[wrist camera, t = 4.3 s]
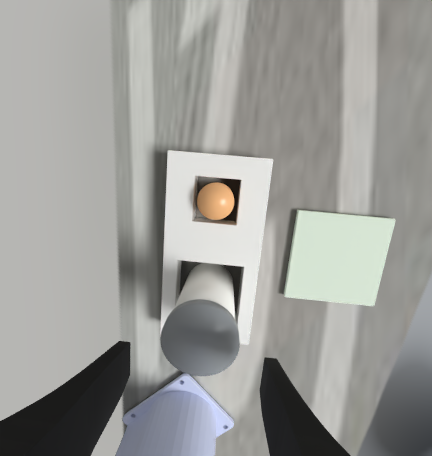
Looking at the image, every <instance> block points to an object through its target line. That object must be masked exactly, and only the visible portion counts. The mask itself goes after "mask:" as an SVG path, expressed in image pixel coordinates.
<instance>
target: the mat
mask: <svg viewBox="0 0 432 456" xmlns="http://www.w3.org/2000/svg"><path fill="white" fill-rule="evenodd" d="M395 220H396V219H393V218H383V217H373V216H362V215H351V214H340V213H329V212H318V211H307V210H297V214H296V220H295V226H294V233H293V239H292V245H291V251H290V258H289V264H288V270H287V276H286V283H285V289H284V296H285V297H290V298H299V299H309V300H319V301H328V302H338V303H347V304H357V305H367V306H374V304H375V300H376V296H377V292H378V288H379V284H380V280H381V276H382V272H383V268H384V264H385V260H386V256H387V252H388V248H389V244H390V240H391V236H392V232H393V228H394V224H395Z"/></svg>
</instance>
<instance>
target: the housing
mask: <svg viewBox="0 0 432 456" xmlns="http://www.w3.org/2000/svg"><path fill="white" fill-rule="evenodd" d="M272 165H273V159H265V158H253V157H242V156H230V155H218V154H206V153H194V152H182V151H171V150H168V157H167V182H166V206H165V231H164V255H163V280H162V304H161V329H160V335H161V332H162V328H163V326H164V324H165V322H166V319H167V317H168V316H169V314H170V313H171V312H172V310H173V309H174V308H175V306H176V304H177V301H178V299H179V296H180V282H181V265H182V261H192V262H202V263H212V264H222V265H232V266H242V270H241V279H240V288H239V296H238V305H237V313H236V314H235V320H236V323H237V325H238V329H239V341H240V344H245V345H249V339H250V331H251V324H252V316H253V309H254V301H255V294H256V286H257V278H258V271H259V263H260V256H261V248H262V241H263V233H264V226H265V218H266V210H267V203H268V195H269V188H270V180H271V173H272ZM198 176H203V177H214V178H225V179H237V180H240V186H239V195H238V205H237V214H236V221H228V220H212V219H207V218H196V217H195V216H196V202H197V187H198Z"/></svg>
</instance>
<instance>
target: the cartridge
mask: <svg viewBox="0 0 432 456" xmlns="http://www.w3.org/2000/svg"><path fill="white" fill-rule="evenodd" d="M160 339H161V347H162V350H163V353H164V355H165V357H166V358H167V360H168V361H169V362H170V363H171V364H172V365H173V366H174V367H176V368H177V369H178V370H180V371H182V372H184V373H187V374H190V375H194V376H210V375H214V374H217V373H220V372H222V371H223V370H225V369H226V368H228V367H229V366H230V365H231V364H232V363H233V361H234V360H235V358H236V356H237V354H238V351H239V345H240V341H239V329H238V325H237V323H236V320H235V308H234V288H233V279H232V276H231V274H230V272H229V271H228V270H227V269H226V268H225V267H224V266H222V265H220V264H212V263H201V264H199V265H197V266H195V267H194V268H193V269H192V270H191V271H190V273H189V275H188V277H187V280H186V282H185V285H184V287H183V289H182V292H181V294H180V296H179V299H178V301H177V304H176V306H175V308H174V309H173V310H172V312H171V313H170V314H169V316H168V317H167V319H166V322H165V324H164V326H163V328H162V332H161V338H160Z"/></svg>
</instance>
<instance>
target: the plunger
mask: <svg viewBox="0 0 432 456" xmlns="http://www.w3.org/2000/svg"><path fill="white" fill-rule="evenodd" d="M197 205H198V208H199V210H200V212H201V213H202V214H203V215H204V216H205V217H207V218H209V219H212V220H220V219H223V218H225V217H226V216H228V215H229V214H230V213H231V211H232V209H233V207H234V196H233V193H232V191H231V189H230V188H229V187H228V186H227V185H225V184H223V183H219V182H215V183H210V184H207V185H206V186H204V187H203V188H202V189H201V191H200V192H199V194H198V197H197Z"/></svg>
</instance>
